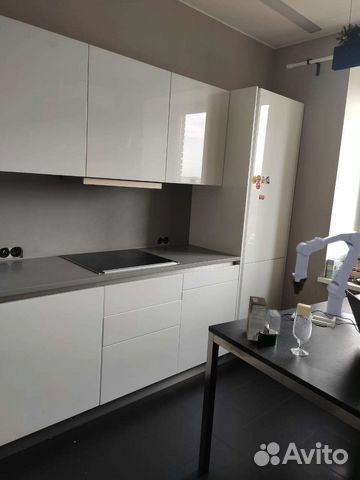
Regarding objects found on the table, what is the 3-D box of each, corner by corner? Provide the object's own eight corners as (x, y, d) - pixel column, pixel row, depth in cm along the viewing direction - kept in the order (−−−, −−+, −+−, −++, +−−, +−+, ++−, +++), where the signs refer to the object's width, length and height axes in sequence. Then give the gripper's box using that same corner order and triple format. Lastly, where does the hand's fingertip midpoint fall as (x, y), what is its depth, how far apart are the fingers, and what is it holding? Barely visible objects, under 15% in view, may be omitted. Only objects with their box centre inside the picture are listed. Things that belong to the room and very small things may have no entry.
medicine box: (279, 335, 155) (281, 316, 153) (269, 334, 155) (271, 315, 153) (274, 327, 162) (277, 309, 161) (265, 327, 163) (267, 309, 161)
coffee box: (245, 330, 157) (249, 295, 154) (260, 332, 157) (264, 297, 154) (247, 339, 148) (251, 302, 145) (262, 341, 148) (267, 304, 145)
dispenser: (312, 317, 179) (313, 311, 178) (335, 322, 174) (336, 317, 173) (309, 321, 173) (310, 315, 173) (333, 327, 168) (334, 321, 167)
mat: (294, 312, 184) (294, 311, 184) (312, 316, 180) (313, 316, 180) (290, 317, 176) (290, 317, 176) (309, 322, 172) (309, 321, 172)
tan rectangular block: (297, 314, 181) (298, 303, 180) (309, 317, 178) (311, 305, 177) (295, 316, 178) (297, 304, 177) (308, 319, 175) (309, 307, 174)
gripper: (296, 262, 189) (293, 287, 192) (290, 267, 177) (286, 293, 179) (310, 265, 186) (306, 290, 188) (304, 270, 174) (301, 297, 176)
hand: (298, 292), depth 184 cm, fingers open, 7 cm apart
